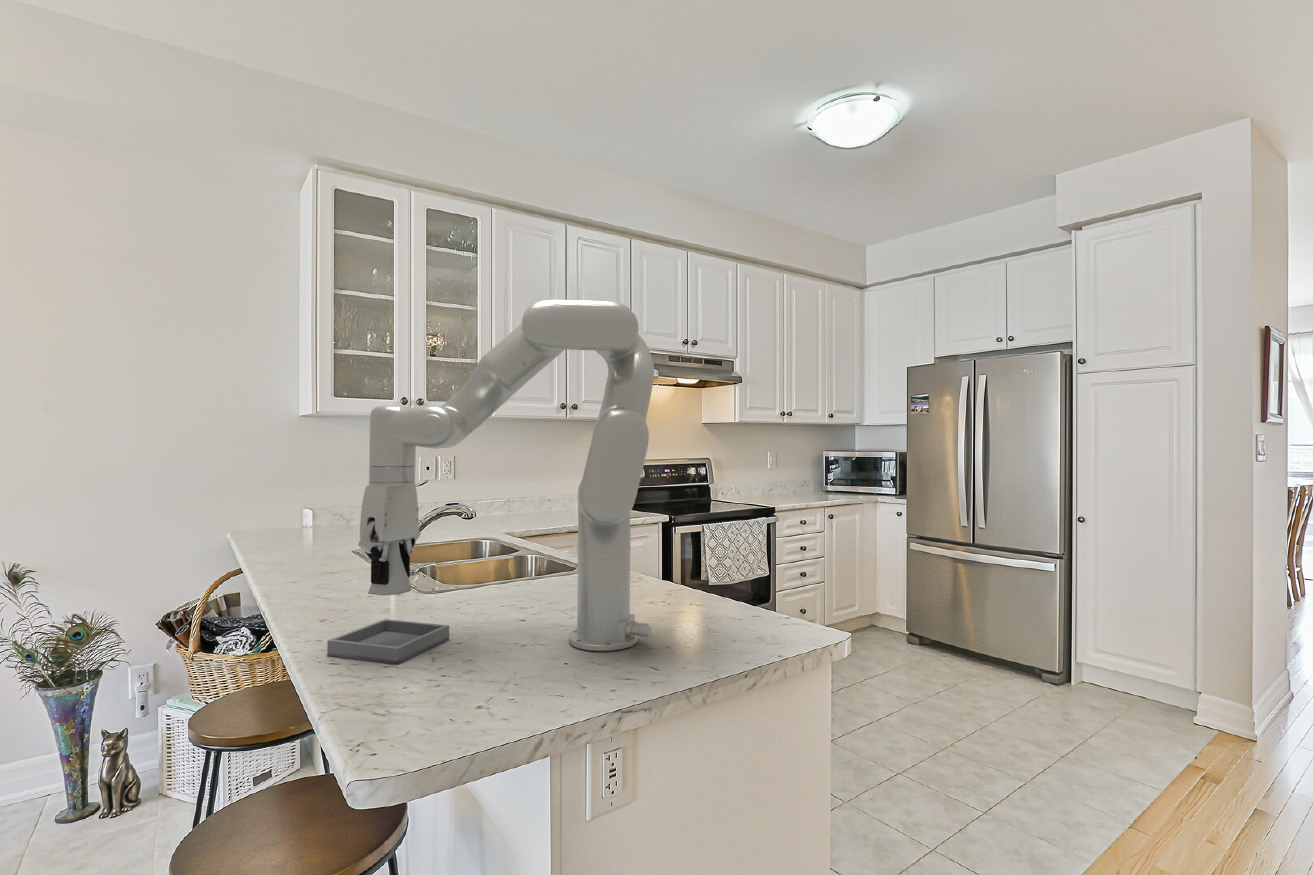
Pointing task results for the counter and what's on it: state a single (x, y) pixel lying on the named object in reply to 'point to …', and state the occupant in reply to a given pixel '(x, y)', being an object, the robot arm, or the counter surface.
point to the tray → (388, 641)
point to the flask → (393, 575)
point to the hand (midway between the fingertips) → (390, 579)
